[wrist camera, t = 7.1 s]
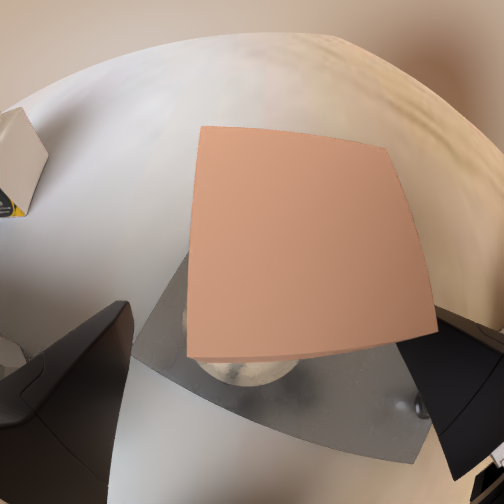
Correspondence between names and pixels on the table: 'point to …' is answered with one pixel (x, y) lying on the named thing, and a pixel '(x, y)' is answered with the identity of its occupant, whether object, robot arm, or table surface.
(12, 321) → the table surface
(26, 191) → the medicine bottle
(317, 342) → the post
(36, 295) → the table surface
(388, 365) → the drilled plate
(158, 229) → the table surface
